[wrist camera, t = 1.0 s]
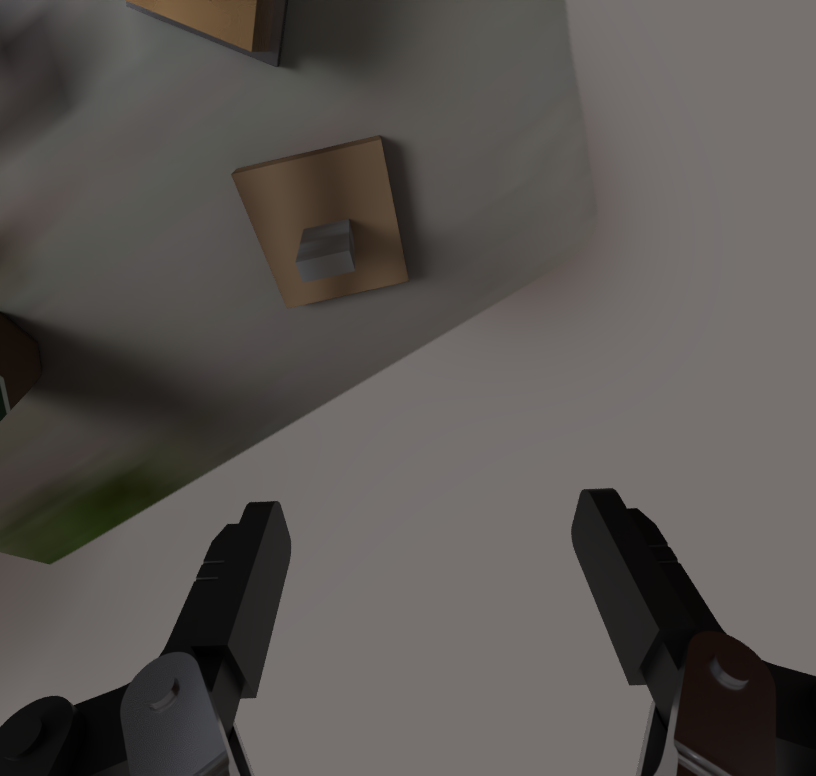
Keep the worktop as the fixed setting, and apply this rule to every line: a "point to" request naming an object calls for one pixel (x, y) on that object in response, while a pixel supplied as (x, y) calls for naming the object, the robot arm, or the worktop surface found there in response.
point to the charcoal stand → (267, 57)
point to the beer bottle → (16, 364)
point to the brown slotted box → (221, 19)
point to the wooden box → (325, 221)
